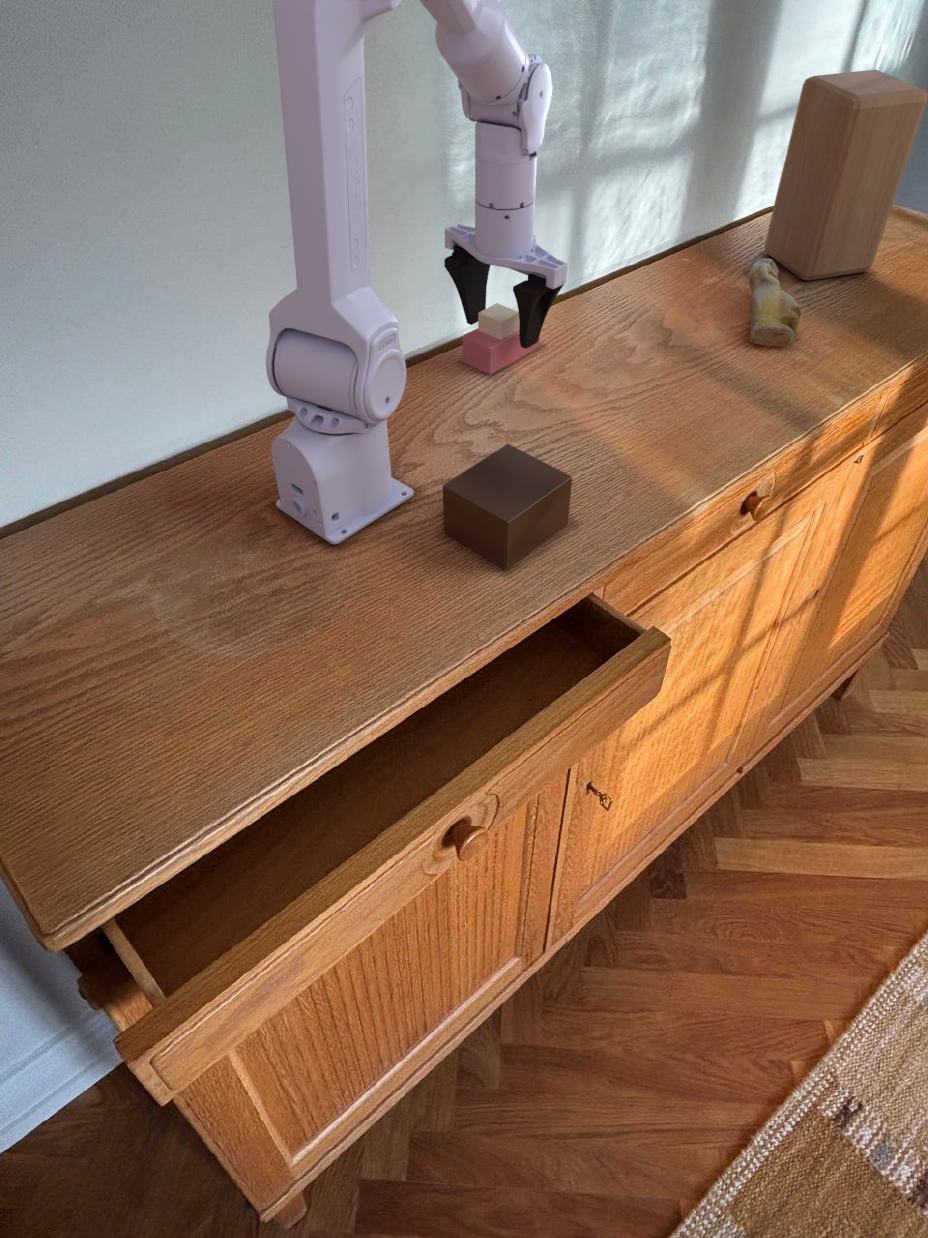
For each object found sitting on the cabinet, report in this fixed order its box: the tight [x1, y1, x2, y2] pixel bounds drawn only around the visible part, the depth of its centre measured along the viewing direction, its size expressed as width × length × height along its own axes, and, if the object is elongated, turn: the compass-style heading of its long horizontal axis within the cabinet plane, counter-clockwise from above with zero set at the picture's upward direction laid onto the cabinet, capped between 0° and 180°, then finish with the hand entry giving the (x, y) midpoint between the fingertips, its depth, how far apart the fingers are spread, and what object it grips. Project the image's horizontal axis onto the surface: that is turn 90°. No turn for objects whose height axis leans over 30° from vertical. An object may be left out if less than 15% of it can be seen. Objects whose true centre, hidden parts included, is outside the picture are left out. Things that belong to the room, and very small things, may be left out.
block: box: [764, 69, 928, 281], centre depth 102 cm, size 10×10×20 cm
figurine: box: [748, 257, 802, 347], centre depth 98 cm, size 5×5×15 cm
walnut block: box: [442, 443, 573, 571], centre depth 72 cm, size 8×7×5 cm
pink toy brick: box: [461, 302, 540, 376], centre depth 92 cm, size 8×4×5 cm, turn 137°
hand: (501, 332), depth 92 cm, fingers open, 7 cm apart
